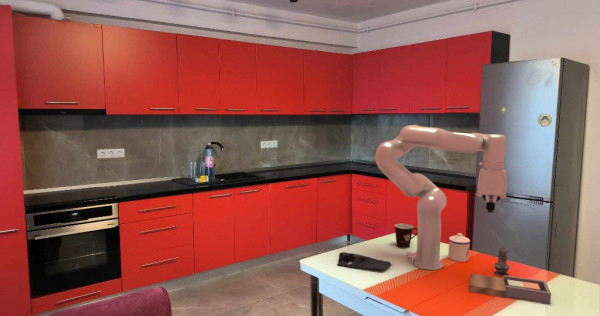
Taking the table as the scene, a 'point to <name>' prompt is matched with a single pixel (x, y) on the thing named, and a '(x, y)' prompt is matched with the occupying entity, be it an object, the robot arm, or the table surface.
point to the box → (528, 290)
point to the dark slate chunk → (362, 262)
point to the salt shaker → (501, 263)
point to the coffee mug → (404, 235)
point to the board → (487, 285)
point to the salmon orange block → (531, 286)
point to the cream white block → (515, 283)
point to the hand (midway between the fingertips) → (490, 211)
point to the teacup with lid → (459, 248)
